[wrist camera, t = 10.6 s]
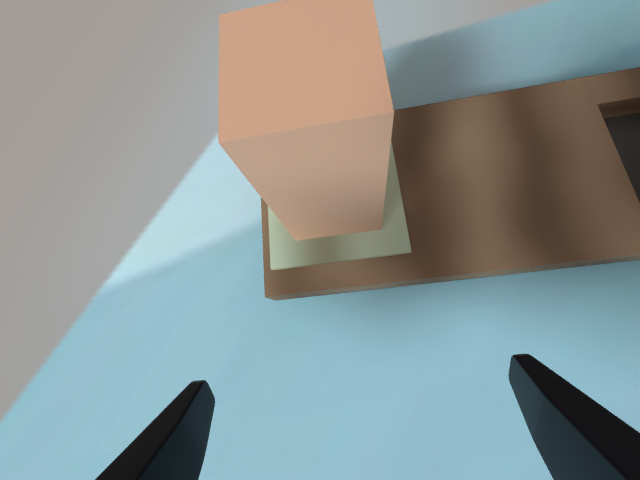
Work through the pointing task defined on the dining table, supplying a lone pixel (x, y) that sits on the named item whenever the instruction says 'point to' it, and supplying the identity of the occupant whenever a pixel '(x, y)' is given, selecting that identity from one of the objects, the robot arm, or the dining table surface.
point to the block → (308, 111)
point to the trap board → (487, 193)
